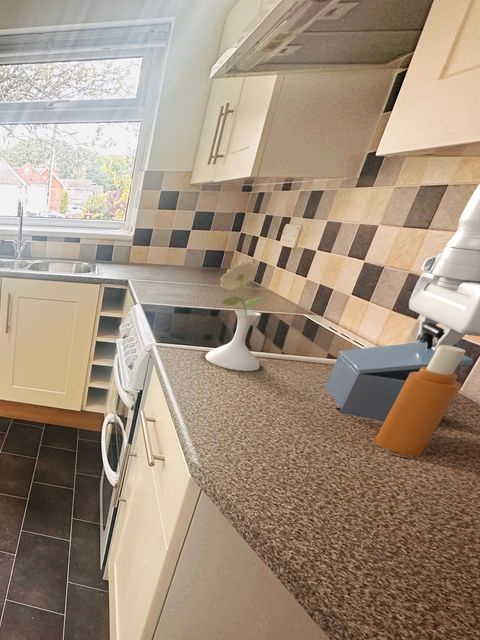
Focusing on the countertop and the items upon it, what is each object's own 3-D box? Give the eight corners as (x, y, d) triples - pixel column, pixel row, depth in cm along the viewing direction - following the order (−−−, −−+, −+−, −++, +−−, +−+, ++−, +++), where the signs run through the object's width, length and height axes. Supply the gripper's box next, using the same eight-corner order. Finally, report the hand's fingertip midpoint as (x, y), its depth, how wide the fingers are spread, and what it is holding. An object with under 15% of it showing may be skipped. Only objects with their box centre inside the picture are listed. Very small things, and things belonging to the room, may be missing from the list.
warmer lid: (437, 344, 78) (438, 316, 77) (473, 364, 69) (475, 333, 67) (339, 354, 86) (339, 329, 84) (359, 374, 76) (359, 346, 74)
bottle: (409, 446, 71) (467, 346, 63) (425, 463, 66) (489, 357, 58) (368, 437, 73) (418, 339, 65) (380, 453, 68) (436, 350, 61)
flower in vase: (247, 362, 105) (282, 260, 94) (265, 380, 95) (306, 267, 84) (191, 356, 107) (219, 256, 97) (202, 372, 97) (235, 263, 87)
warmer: (403, 407, 84) (425, 367, 80) (432, 434, 75) (458, 390, 71) (321, 393, 89) (338, 354, 86) (338, 416, 80) (358, 374, 76)
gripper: (545, 280, 59) (489, 369, 65) (465, 262, 76) (426, 335, 82) (485, 274, 62) (436, 361, 67) (420, 259, 78) (385, 329, 84)
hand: (430, 346), depth 75 cm, fingers closed on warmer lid, 5 cm apart
